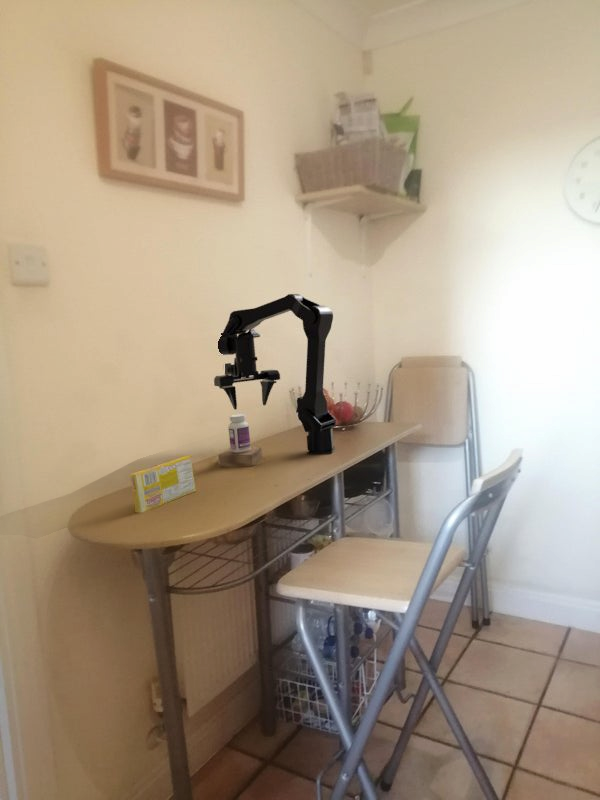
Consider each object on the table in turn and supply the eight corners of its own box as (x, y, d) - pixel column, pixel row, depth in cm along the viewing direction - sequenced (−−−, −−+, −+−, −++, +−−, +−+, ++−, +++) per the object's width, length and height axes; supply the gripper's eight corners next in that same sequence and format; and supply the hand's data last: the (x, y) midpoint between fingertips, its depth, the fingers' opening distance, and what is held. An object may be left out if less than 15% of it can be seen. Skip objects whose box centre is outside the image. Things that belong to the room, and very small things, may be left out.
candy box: (189, 491, 139) (185, 455, 138) (196, 491, 138) (192, 455, 137) (134, 512, 126) (129, 473, 125) (141, 513, 125) (136, 474, 124)
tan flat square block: (262, 457, 167) (261, 446, 167) (252, 465, 158) (251, 454, 158) (230, 458, 169) (229, 447, 169) (219, 466, 160) (218, 455, 160)
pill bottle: (252, 448, 166) (249, 413, 164) (248, 452, 160) (245, 416, 159) (232, 449, 166) (229, 414, 165) (228, 453, 161) (225, 417, 160)
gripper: (263, 350, 189) (267, 401, 191) (205, 356, 181) (210, 409, 183) (278, 351, 179) (283, 404, 182) (218, 357, 171) (223, 412, 173)
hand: (250, 407), depth 180 cm, fingers open, 9 cm apart
